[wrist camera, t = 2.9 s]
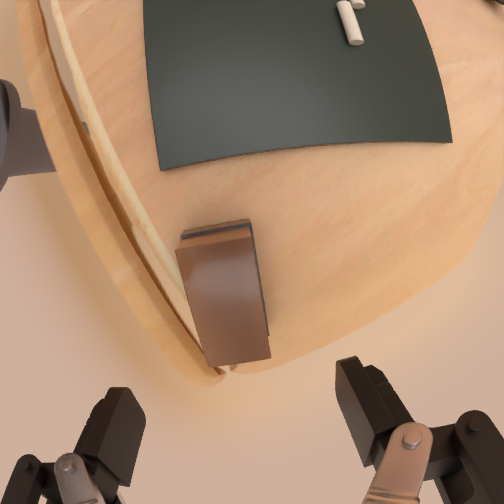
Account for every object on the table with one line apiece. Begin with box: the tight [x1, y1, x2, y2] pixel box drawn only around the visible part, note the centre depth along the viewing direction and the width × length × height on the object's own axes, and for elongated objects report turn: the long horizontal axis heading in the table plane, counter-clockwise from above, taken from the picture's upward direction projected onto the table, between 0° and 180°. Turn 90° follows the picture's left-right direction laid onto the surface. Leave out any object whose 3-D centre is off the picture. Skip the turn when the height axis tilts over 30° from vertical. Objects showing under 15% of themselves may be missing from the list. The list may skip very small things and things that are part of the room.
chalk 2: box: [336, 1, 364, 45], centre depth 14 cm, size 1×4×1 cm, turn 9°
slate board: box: [143, 0, 453, 171], centre depth 15 cm, size 24×20×1 cm
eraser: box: [175, 219, 271, 367], centre depth 19 cm, size 5×9×4 cm, turn 9°
